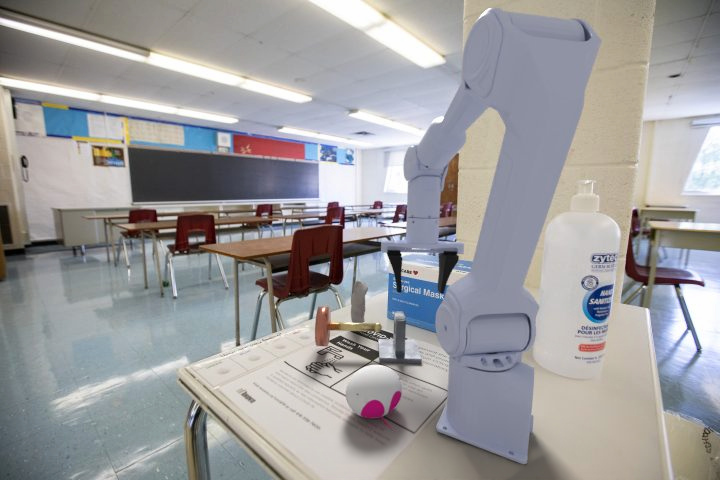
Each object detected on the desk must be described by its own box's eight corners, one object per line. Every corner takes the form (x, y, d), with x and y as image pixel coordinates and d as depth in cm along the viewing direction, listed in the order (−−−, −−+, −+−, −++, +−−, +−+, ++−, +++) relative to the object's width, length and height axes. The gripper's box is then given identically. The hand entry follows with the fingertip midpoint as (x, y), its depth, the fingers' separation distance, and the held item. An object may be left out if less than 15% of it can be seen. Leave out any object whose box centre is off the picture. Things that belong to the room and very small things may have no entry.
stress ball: (355, 454, 37) (370, 435, 33) (333, 389, 42) (343, 365, 38) (407, 431, 40) (426, 411, 36) (380, 373, 45) (394, 350, 41)
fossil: (363, 332, 63) (364, 284, 62) (347, 330, 64) (347, 283, 62) (368, 321, 69) (369, 277, 67) (353, 319, 69) (353, 276, 68)
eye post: (415, 343, 58) (416, 309, 57) (421, 363, 51) (423, 324, 50) (378, 343, 58) (379, 308, 57) (379, 362, 51) (380, 323, 51)
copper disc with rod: (380, 337, 58) (381, 302, 57) (382, 355, 51) (383, 316, 50) (321, 335, 58) (321, 301, 57) (315, 353, 52) (314, 314, 51)
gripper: (457, 216, 58) (453, 286, 60) (381, 215, 59) (379, 284, 60) (469, 219, 51) (464, 297, 53) (382, 217, 52) (380, 295, 53)
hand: (419, 291), depth 56 cm, fingers open, 7 cm apart
